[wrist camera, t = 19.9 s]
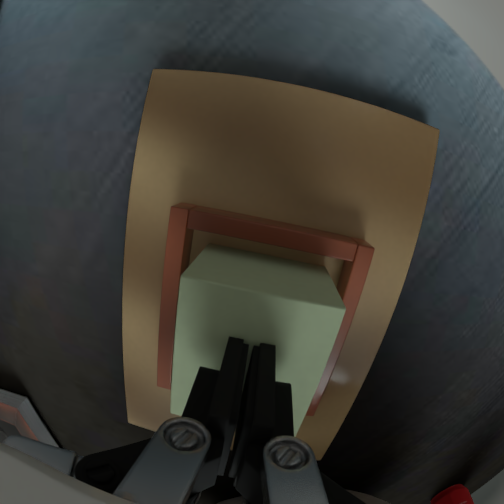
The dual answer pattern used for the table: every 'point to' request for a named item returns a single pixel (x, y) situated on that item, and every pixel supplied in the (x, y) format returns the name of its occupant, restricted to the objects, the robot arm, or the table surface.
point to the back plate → (269, 217)
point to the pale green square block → (255, 319)
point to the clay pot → (370, 501)
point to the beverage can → (453, 496)
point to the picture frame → (21, 419)
